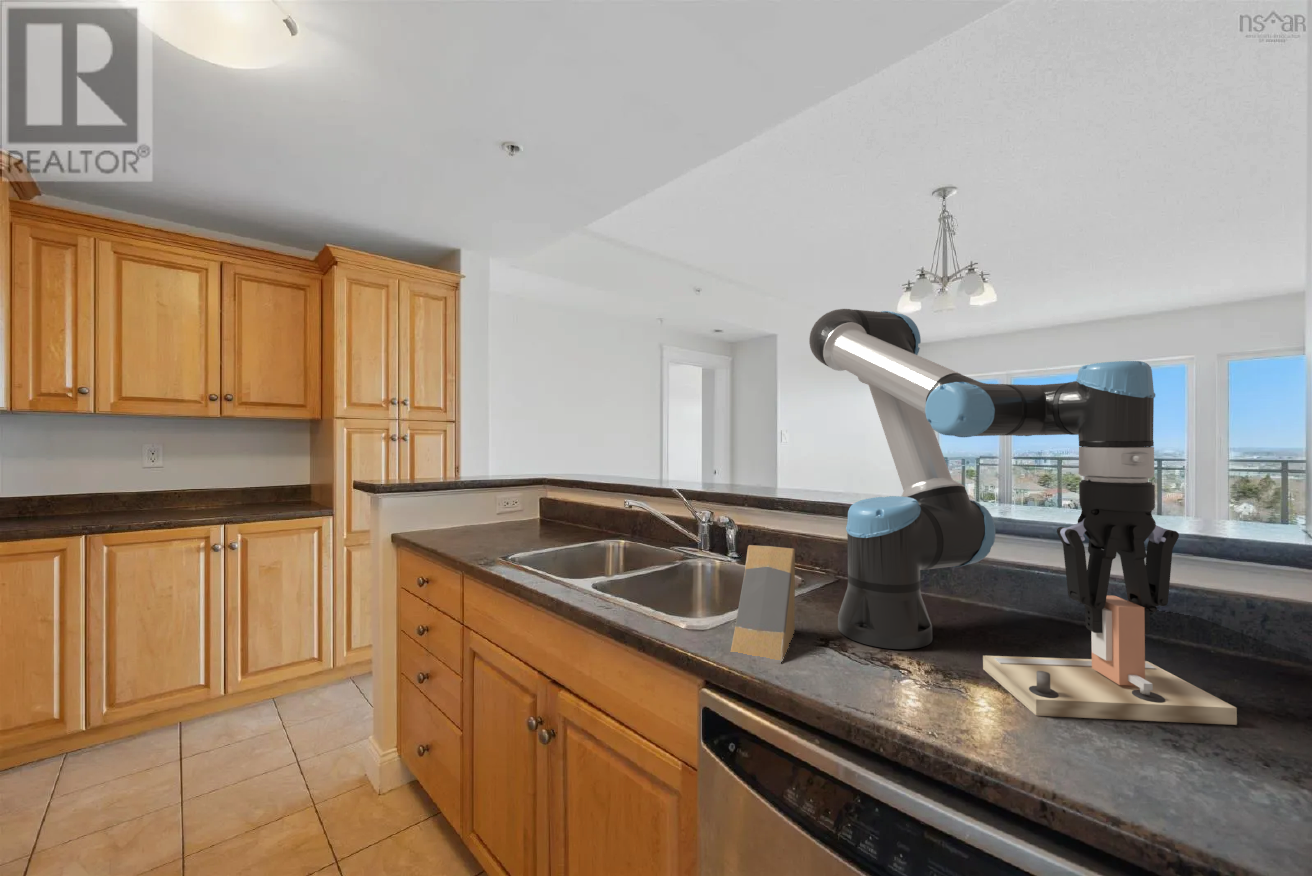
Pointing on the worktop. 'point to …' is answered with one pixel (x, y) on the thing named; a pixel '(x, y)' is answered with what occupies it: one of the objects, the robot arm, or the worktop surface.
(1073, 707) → the board
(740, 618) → the sandwich container
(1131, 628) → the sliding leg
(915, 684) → the worktop surface
